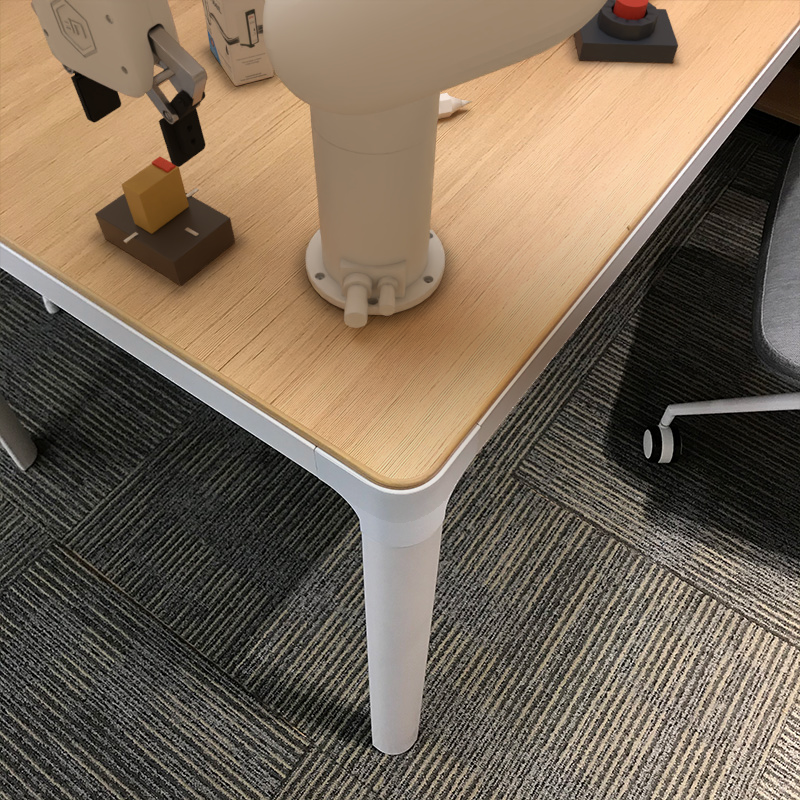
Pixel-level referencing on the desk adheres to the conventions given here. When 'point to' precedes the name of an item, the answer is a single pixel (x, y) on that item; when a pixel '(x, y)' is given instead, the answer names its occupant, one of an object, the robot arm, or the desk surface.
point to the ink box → (238, 38)
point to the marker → (450, 105)
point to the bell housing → (627, 37)
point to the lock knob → (155, 195)
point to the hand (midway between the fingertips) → (146, 134)
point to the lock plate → (170, 237)
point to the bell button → (630, 9)
